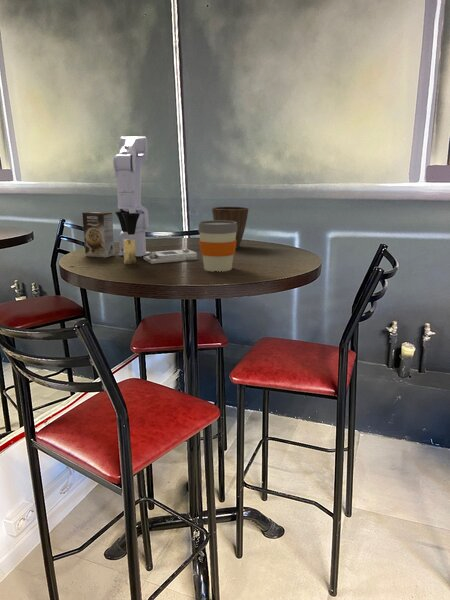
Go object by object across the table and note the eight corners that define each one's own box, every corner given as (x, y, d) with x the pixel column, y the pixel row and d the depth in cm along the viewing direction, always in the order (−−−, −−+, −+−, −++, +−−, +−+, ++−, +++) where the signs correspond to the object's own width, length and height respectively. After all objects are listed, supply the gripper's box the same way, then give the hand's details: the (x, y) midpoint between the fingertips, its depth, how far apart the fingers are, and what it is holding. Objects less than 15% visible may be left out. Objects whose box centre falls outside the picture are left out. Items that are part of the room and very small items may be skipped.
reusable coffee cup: (200, 264, 159) (199, 220, 155) (237, 264, 159) (237, 220, 155) (197, 272, 147) (196, 224, 143) (237, 272, 147) (237, 224, 143)
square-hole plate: (151, 263, 161) (150, 254, 160) (143, 259, 169) (143, 250, 168) (196, 259, 168) (196, 250, 167) (187, 255, 176) (187, 246, 175)
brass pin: (122, 263, 161) (120, 240, 159) (128, 261, 165) (126, 238, 162) (132, 264, 160) (130, 241, 158) (138, 262, 163) (136, 239, 161)
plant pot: (213, 244, 202) (212, 206, 197) (247, 244, 201) (248, 206, 197) (210, 250, 187) (210, 209, 183) (248, 250, 187) (248, 209, 182)
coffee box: (84, 256, 175) (81, 212, 170) (95, 253, 180) (91, 210, 176) (105, 257, 172) (102, 213, 167) (115, 254, 177) (112, 211, 173)
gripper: (144, 192, 151) (146, 235, 155) (132, 190, 164) (134, 230, 167) (122, 193, 148) (124, 236, 152) (111, 191, 161) (114, 231, 164)
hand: (128, 233), depth 159 cm, fingers open, 7 cm apart
